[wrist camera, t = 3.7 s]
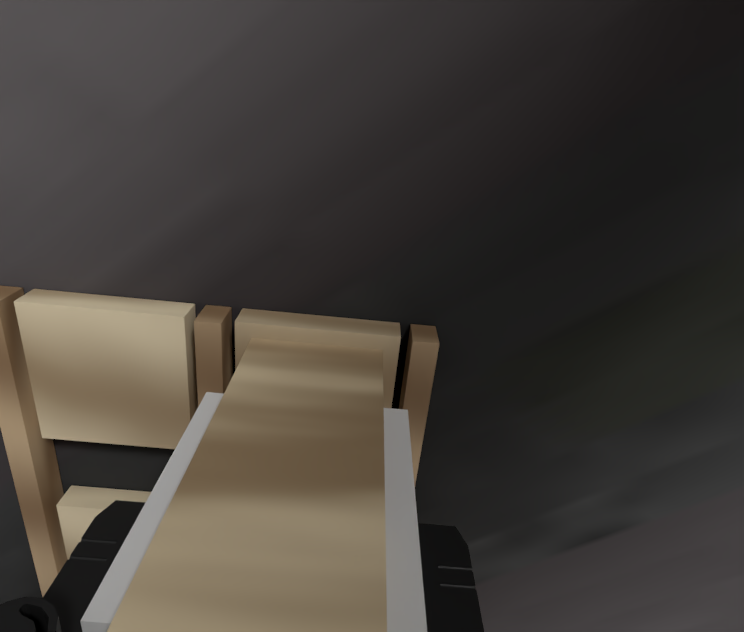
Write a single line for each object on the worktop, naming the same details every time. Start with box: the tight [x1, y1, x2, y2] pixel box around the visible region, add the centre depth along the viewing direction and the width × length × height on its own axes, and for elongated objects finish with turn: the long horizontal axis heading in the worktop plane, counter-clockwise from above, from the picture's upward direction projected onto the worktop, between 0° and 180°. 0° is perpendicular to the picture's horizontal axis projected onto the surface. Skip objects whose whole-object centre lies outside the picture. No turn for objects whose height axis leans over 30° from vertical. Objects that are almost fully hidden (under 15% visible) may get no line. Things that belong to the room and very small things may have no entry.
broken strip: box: [14, 289, 198, 560], centre depth 19 cm, size 15×5×1 cm, turn 175°
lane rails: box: [0, 286, 439, 597], centre depth 19 cm, size 15×14×1 cm
